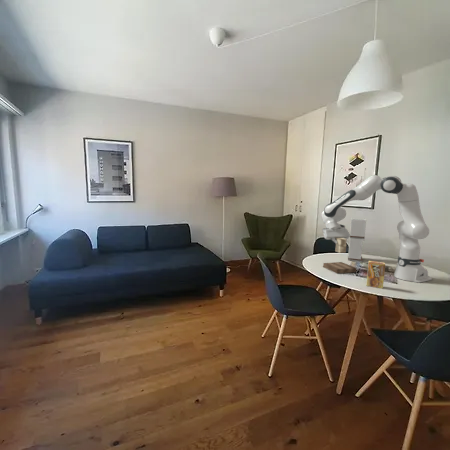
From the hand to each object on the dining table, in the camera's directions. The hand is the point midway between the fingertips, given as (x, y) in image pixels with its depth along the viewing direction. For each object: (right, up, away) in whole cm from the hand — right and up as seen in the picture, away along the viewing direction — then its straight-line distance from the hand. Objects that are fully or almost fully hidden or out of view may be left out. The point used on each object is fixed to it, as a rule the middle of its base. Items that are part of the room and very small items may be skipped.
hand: (340, 243), depth 189 cm
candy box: (+7, -25, -30) cm, 40 cm away
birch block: (0, -6, +1) cm, 6 cm away
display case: (+26, -16, +30) cm, 43 cm away
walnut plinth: (0, -20, +2) cm, 20 cm away
